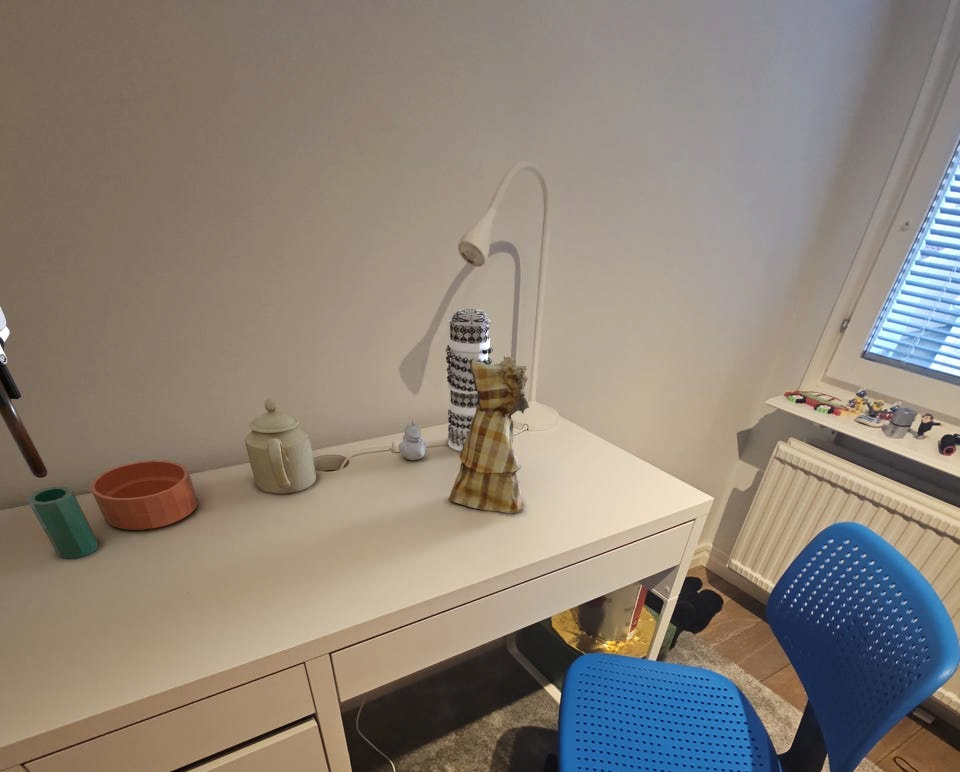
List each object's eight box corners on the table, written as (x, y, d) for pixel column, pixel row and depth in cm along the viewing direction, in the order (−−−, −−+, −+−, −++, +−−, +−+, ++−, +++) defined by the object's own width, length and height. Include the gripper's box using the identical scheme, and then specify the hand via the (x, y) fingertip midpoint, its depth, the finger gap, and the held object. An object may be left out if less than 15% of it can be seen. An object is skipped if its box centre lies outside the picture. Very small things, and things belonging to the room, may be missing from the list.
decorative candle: (475, 432, 125) (478, 304, 108) (497, 447, 119) (503, 314, 102) (439, 439, 121) (436, 308, 104) (459, 455, 115) (460, 319, 99)
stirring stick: (32, 479, 77) (-36, 355, 66) (40, 474, 78) (-25, 351, 68) (45, 480, 77) (-21, 355, 66) (52, 474, 78) (-11, 351, 68)
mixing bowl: (88, 532, 89) (71, 497, 85) (132, 491, 99) (118, 458, 95) (177, 535, 89) (164, 501, 85) (211, 494, 100) (201, 461, 96)
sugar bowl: (338, 490, 102) (325, 406, 92) (282, 508, 96) (262, 421, 86) (299, 463, 110) (283, 383, 100) (245, 478, 105) (223, 395, 95)
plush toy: (468, 466, 109) (465, 335, 88) (537, 479, 106) (550, 347, 86) (445, 513, 101) (436, 381, 81) (519, 528, 99) (528, 396, 78)
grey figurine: (406, 465, 111) (404, 425, 105) (394, 453, 115) (391, 414, 110) (431, 461, 113) (430, 421, 107) (418, 449, 117) (416, 410, 112)
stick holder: (50, 558, 83) (18, 503, 77) (70, 539, 87) (42, 485, 81) (86, 559, 83) (58, 504, 77) (105, 540, 87) (79, 487, 81)
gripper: (-72, 212, 64) (13, 381, 76) (-200, 227, 52) (-75, 423, 65) (-7, 214, 64) (67, 382, 77) (-120, 230, 52) (-11, 425, 65)
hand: (1, 400), depth 70 cm, fingers closed on stirring stick, 1 cm apart
